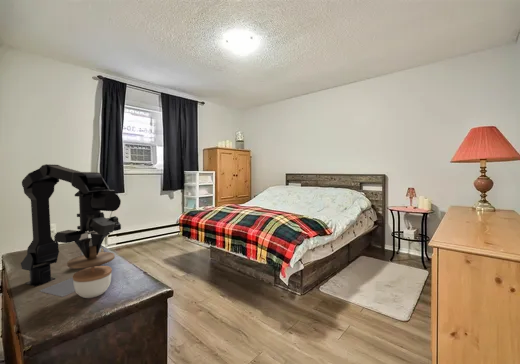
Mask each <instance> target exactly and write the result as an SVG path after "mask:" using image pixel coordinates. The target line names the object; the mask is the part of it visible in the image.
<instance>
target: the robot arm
mask: <svg viewBox="0 0 520 364" xmlns="http://www.w3.org/2000/svg"><path fill="white" fill-rule="evenodd" d="M60 180H61V181H65V182H67V183H70V184H71V187H73V188H75V189H76V190H78V191H77V192H76V193H75V194H74V197H77V198H78V203H79V204H78V205H79V208H78V209H79V213H76V217H77V218H79V225H78V226H76V229H77V230H76V229H75V230H74V229H67V230H62V231H57V232H56V233H55V234H54V239H53V238H52V230H51V214H50V213H51V211H50V199H51V197H52V195H53V194H54V192H55V186H56V185H57V184H58V183H59V182H60ZM21 185H22V188H23V193H24V194H25V196H26V197H27V198H28V199H29V201H30V205H31V206H30V208H31V210H30V211H31V223H32V226H31V228H32V241H31V242H30V244H29V246H28V247H27V248H26V249H27V250H26V256H25V257H24V258H23V260H22V261H21V262H20V266H21V270H25V271H28V273H29V281H27V282H25V283H24V284H25V285H27V286H32V287H39V286H41V285H44V284H47V283H49V282H52V281H54V280H56V278H55V277H52V270H51V265H53V264H56V263H58V258H59V253H60V250H59V249H60V248H59V243H64V244H70V243H75V244H76V246H77V247H78V248H79V250H80V251H82V253H83V254H84V256H85V257H86V258H89V254H90V252H89V246H90V242H91V246H93V245H96V252H97V255H98V253H99V250H100V248H102V247H101V246H102V244H103V241H104V239H106V238H107V236H109V235H110V234H111V233H113V232H116V231H120V230H121V229H122V224H121V223H120V222H119V218H118V216H111V217H107V218H106V217H105V214H104V212H115V211H117V210H118V209H119V208H120V207H121V203H122V200H121V198H120V196H119V195H118V194H117V193H116V190H115V189H110V187H109V185H108V184H107V182H106V181H105V178H103V176H102V174H101V173H100V172H95V171H93V172H92V171H79V170H76V169H72V168H69V167H65V166H62V165H60V164H42V165H41V166H40V167H38V168H37V169H35V170H32V171H31V172H29V173H27V175H26V176H25V177H24V178H23V179H22V181H21ZM103 211H104V212H103ZM89 235H90V237H89Z"/></svg>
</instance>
